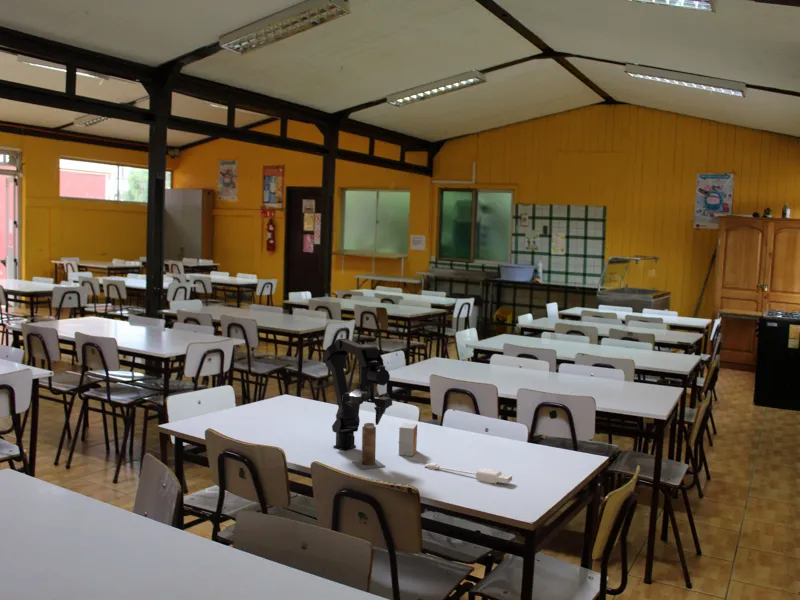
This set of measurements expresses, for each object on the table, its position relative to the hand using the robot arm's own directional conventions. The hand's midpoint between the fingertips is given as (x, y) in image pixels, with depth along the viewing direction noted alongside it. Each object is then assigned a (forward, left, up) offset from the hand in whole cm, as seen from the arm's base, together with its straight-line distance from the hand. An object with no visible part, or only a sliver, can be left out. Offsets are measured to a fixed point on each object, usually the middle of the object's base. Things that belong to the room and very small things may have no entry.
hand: (366, 422), depth 266 cm
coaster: (+6, -7, -13) cm, 16 cm away
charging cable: (+40, +4, -14) cm, 42 cm away
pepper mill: (+6, -6, -13) cm, 15 cm away
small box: (+9, +15, -13) cm, 22 cm away
